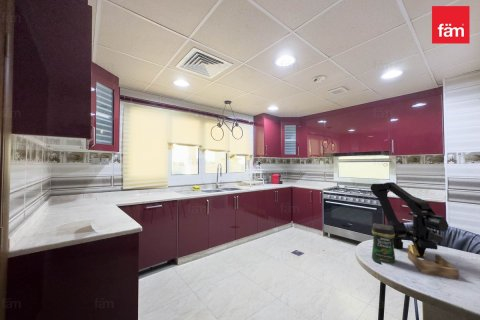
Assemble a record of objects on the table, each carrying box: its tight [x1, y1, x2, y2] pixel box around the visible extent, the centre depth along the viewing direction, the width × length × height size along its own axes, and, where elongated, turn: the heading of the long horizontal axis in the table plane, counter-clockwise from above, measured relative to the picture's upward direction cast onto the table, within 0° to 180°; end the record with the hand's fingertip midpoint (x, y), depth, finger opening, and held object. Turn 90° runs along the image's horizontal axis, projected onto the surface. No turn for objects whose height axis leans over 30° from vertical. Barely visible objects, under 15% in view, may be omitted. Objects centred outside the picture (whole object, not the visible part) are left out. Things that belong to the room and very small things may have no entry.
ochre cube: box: [407, 243, 427, 258], centre depth 106 cm, size 5×5×5 cm
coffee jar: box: [371, 222, 396, 265], centre depth 101 cm, size 10×8×19 cm
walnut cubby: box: [407, 250, 460, 280], centre depth 93 cm, size 12×16×5 cm
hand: (421, 256), depth 102 cm, fingers closed
